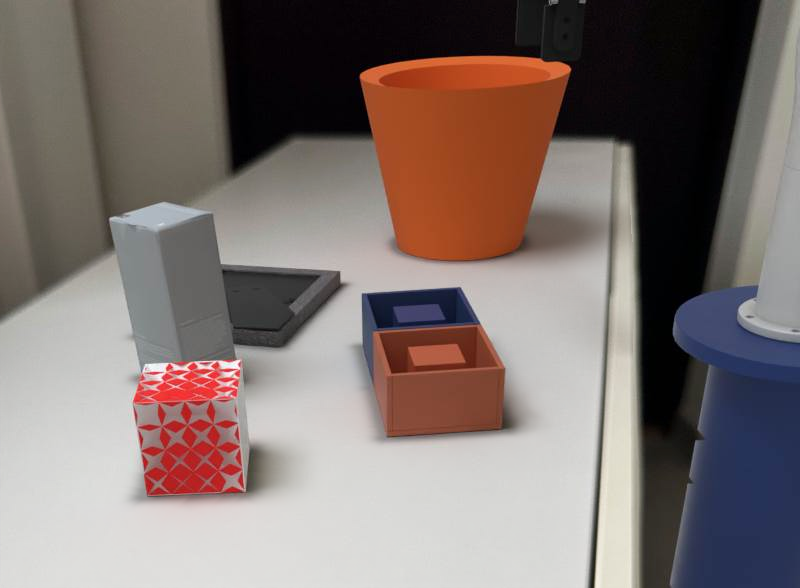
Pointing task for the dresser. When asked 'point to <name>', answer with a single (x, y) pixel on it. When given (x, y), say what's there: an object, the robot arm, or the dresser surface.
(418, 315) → the navy block
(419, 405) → the rust bin
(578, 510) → the dresser surface
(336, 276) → the picture frame
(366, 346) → the navy bin
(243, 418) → the red and white cube
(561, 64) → the flowerpot
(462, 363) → the rust block
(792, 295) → the robot arm
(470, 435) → the dresser surface
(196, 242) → the cosmetic box
